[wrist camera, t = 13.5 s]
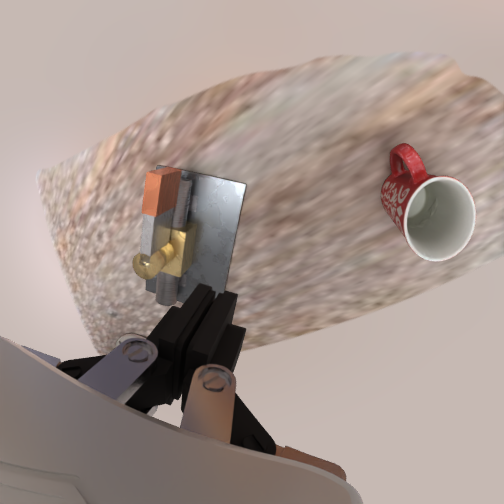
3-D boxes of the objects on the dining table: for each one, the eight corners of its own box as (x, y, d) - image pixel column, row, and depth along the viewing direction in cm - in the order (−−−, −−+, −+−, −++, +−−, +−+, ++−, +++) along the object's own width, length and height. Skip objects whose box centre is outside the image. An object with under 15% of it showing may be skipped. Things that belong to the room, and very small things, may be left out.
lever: (173, 265, 42) (155, 283, 37) (151, 258, 42) (131, 274, 37) (187, 171, 37) (167, 176, 31) (163, 165, 37) (140, 170, 32)
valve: (220, 312, 50) (211, 329, 45) (147, 288, 51) (133, 302, 46) (246, 184, 41) (238, 189, 37) (158, 165, 43) (141, 168, 38)
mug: (439, 211, 37) (484, 240, 25) (389, 236, 40) (418, 275, 28) (408, 131, 34) (449, 128, 22) (353, 156, 37) (374, 163, 25)
